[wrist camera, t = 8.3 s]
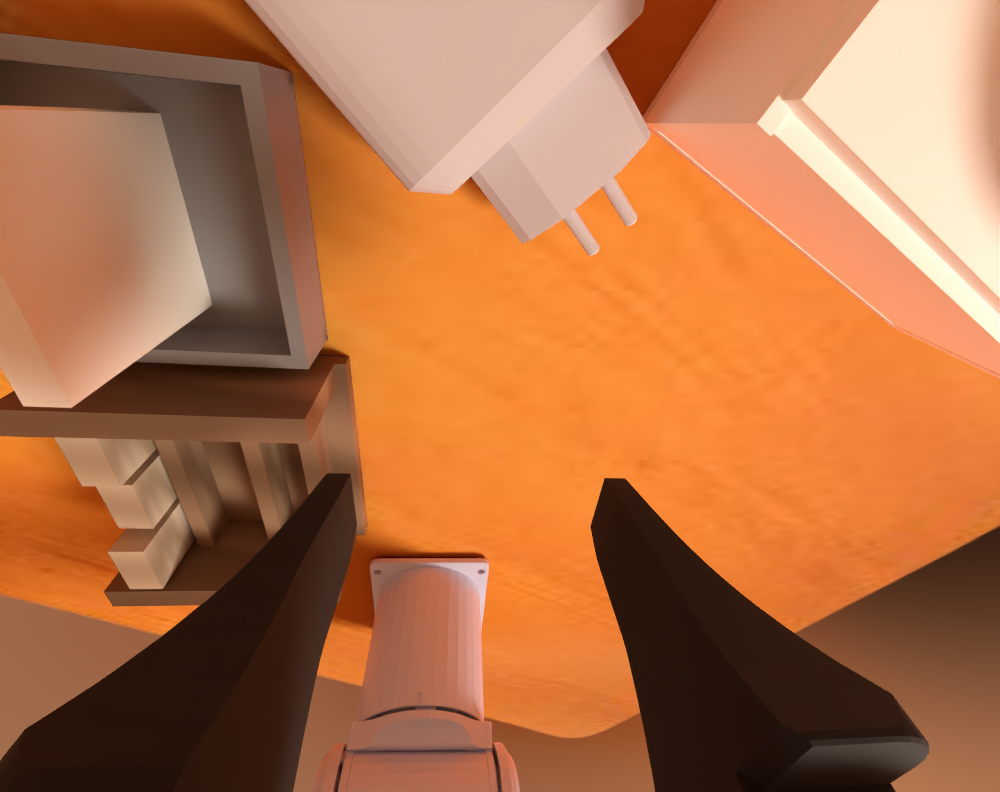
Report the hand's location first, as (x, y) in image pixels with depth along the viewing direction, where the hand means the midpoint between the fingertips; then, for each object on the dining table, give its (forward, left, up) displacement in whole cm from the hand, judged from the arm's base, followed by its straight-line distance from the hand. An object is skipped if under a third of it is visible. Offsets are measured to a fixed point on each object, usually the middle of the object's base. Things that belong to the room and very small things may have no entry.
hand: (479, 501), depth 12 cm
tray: (+5, +12, -10) cm, 17 cm away
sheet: (+5, +12, -10) cm, 16 cm away
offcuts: (-7, +16, -10) cm, 20 cm away
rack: (-7, +12, -10) cm, 17 cm away
